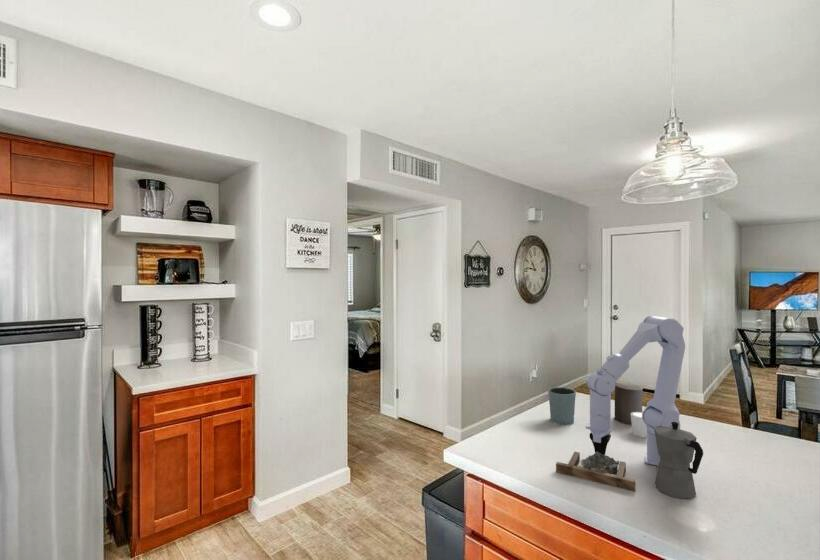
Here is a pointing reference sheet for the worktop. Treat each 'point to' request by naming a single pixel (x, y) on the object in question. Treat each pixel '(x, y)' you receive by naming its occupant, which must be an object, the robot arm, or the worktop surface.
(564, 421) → the teal grey cup
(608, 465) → the egg carton
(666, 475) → the coffeepot
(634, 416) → the shot glass
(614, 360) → the robot arm
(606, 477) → the walnut bracket
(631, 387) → the pillar candle
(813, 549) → the worktop surface
